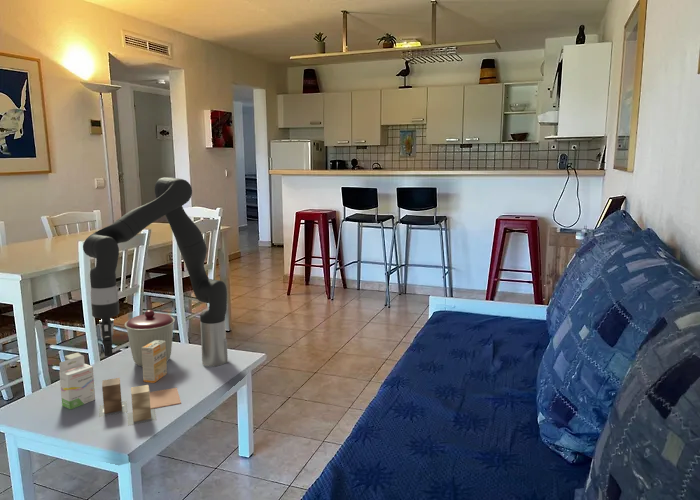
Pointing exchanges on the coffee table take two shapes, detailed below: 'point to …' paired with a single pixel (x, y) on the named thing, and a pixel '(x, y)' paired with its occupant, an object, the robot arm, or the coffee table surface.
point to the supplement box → (154, 361)
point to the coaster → (164, 398)
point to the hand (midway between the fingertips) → (108, 350)
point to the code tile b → (153, 418)
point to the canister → (149, 332)
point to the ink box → (76, 383)
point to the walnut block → (111, 395)
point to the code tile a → (101, 412)
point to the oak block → (141, 403)
